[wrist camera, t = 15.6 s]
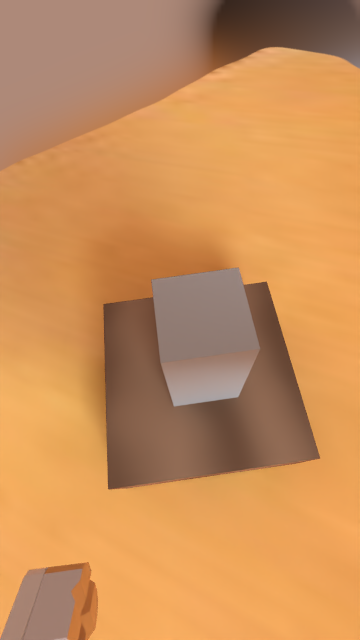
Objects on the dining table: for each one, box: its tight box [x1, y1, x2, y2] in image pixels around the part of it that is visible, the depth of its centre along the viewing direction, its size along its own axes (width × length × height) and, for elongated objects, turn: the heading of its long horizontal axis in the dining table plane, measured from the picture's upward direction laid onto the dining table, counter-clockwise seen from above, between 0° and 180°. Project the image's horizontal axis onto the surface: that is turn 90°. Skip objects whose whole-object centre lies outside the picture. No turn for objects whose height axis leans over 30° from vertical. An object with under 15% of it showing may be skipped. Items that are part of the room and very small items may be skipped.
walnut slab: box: [104, 282, 320, 489], centre depth 23 cm, size 12×12×5 cm
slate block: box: [151, 268, 260, 406], centre depth 17 cm, size 4×4×8 cm
